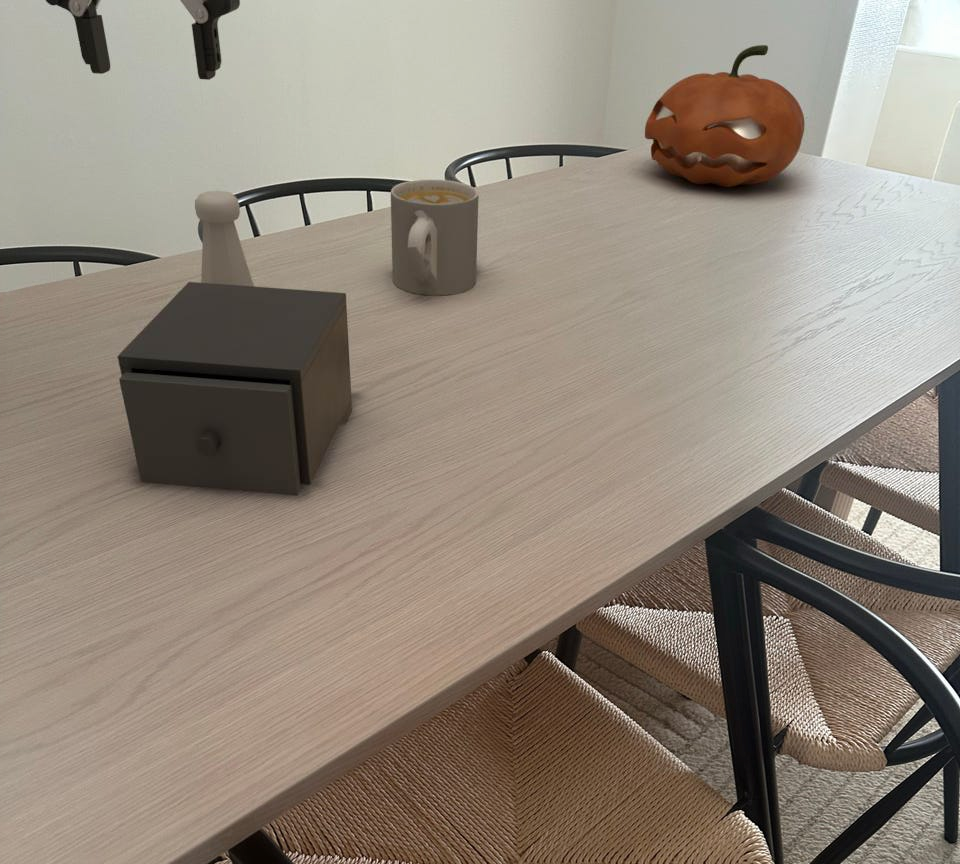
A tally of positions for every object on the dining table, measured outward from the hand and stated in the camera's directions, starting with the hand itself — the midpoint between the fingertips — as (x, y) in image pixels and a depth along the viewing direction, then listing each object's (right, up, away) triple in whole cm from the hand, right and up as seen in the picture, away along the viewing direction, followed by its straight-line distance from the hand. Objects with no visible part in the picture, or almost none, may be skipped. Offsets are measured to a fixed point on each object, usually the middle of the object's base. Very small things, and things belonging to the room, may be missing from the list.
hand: (154, 74), depth 77 cm
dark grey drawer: (+6, -28, +5) cm, 29 cm away
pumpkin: (+63, +29, +80) cm, 106 cm away
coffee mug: (+19, -2, +39) cm, 44 cm away
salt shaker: (-1, -10, +29) cm, 31 cm away
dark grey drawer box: (+6, -27, +8) cm, 29 cm away
